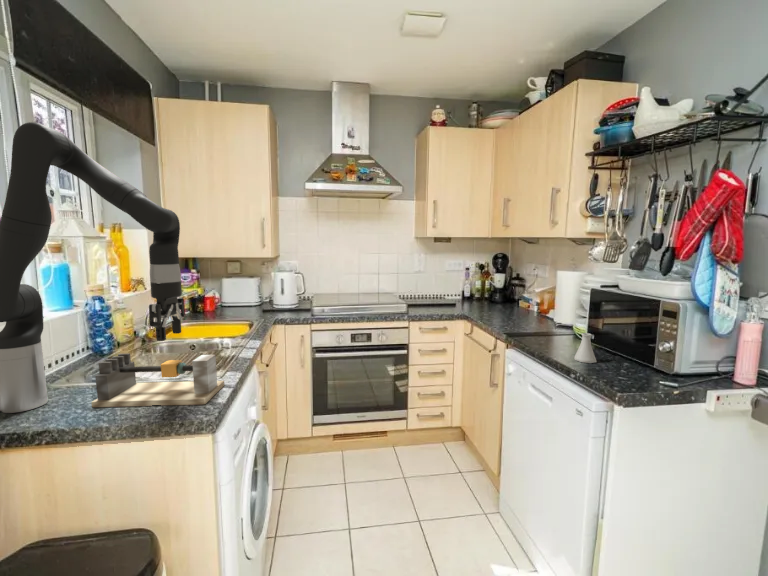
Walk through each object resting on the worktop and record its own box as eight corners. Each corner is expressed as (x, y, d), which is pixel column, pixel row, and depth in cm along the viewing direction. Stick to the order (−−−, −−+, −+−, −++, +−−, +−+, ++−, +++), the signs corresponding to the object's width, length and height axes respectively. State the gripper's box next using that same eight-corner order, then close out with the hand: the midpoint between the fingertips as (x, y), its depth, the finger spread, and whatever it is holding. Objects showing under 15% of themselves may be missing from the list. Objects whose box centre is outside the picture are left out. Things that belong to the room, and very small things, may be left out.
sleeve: (161, 377, 106) (160, 364, 106) (168, 372, 110) (167, 360, 110) (176, 377, 106) (175, 364, 106) (182, 372, 110) (181, 360, 110)
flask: (600, 363, 134) (602, 336, 133) (580, 363, 134) (581, 336, 133) (589, 357, 141) (591, 331, 140) (570, 357, 141) (571, 331, 140)
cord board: (91, 407, 101) (87, 366, 100) (125, 387, 115) (121, 351, 114) (205, 404, 102) (202, 363, 101) (224, 385, 116) (222, 349, 115)
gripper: (165, 278, 112) (169, 331, 114) (136, 282, 98) (141, 343, 100) (191, 278, 112) (194, 331, 114) (166, 282, 98) (169, 343, 100)
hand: (169, 336), depth 107 cm, fingers open, 8 cm apart
